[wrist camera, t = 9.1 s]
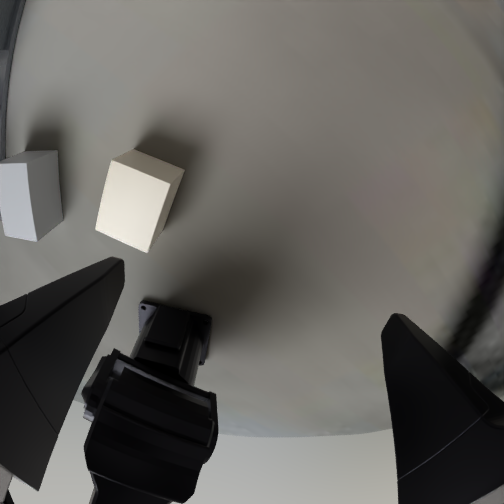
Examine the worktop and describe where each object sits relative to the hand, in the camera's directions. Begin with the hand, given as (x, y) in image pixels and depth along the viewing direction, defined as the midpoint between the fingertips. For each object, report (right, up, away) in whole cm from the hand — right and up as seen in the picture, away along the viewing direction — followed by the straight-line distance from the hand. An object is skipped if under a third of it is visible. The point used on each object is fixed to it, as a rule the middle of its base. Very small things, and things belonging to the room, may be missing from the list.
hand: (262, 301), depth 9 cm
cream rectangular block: (-8, +6, +11) cm, 15 cm away
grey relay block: (-18, +7, +11) cm, 22 cm away
